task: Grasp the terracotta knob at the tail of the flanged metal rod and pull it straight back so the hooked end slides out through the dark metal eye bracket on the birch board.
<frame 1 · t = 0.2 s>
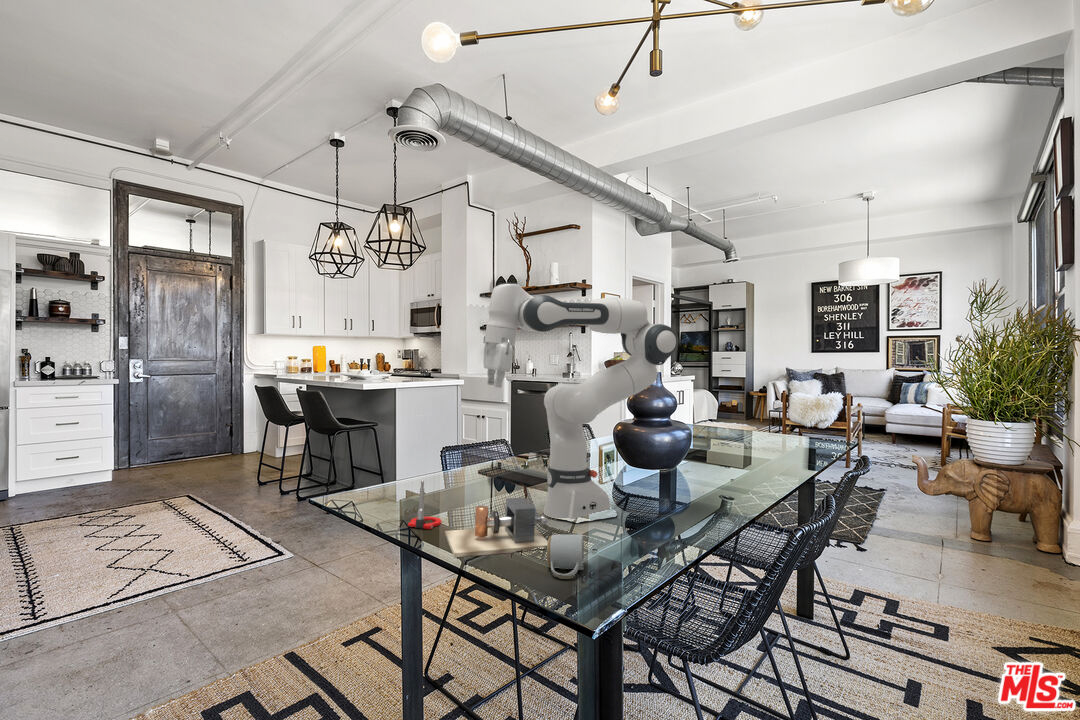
hand: (493, 386, 152), 39 cm above the table, tool pointing down, fingers open, 8 cm apart
eye bracket: (519, 519, 137), on the base board, point 5 cm above the table
flanged metal rod: (511, 519, 136), point 5 cm above the table, slide at 0.0 cm
tow hook: (425, 525, 147), on the table
base board: (519, 539, 137), on the table
ceramic mug: (566, 571, 119), on the table
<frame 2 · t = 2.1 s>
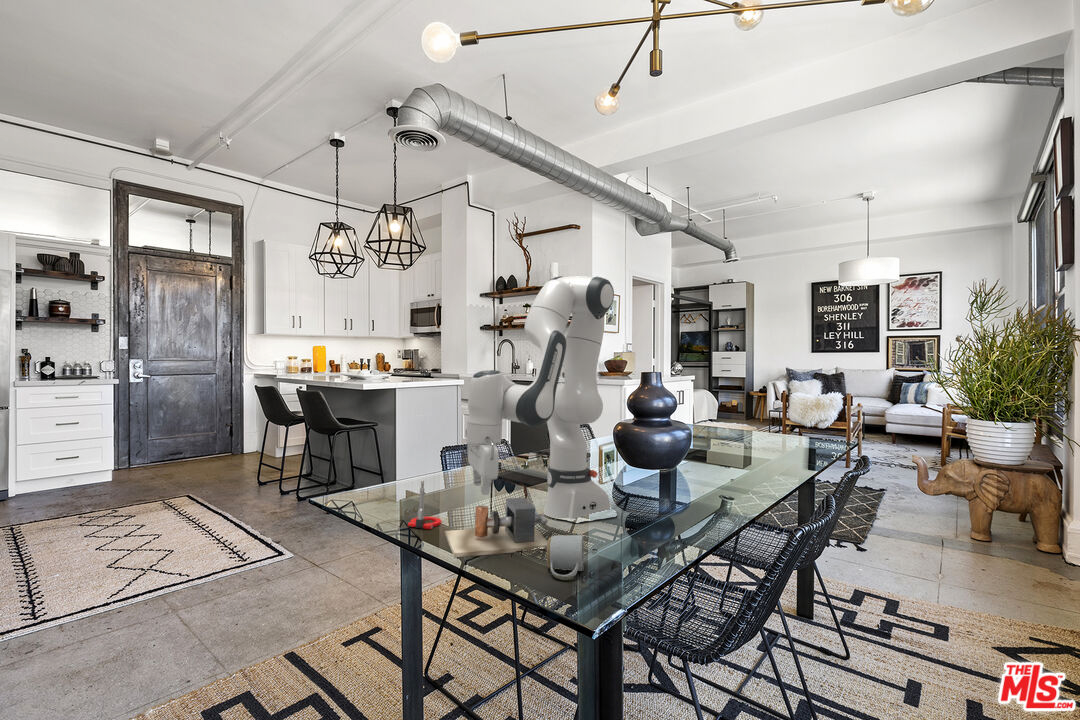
hand: (481, 489, 134), 14 cm above the table, tool pointing down, fingers open, 8 cm apart
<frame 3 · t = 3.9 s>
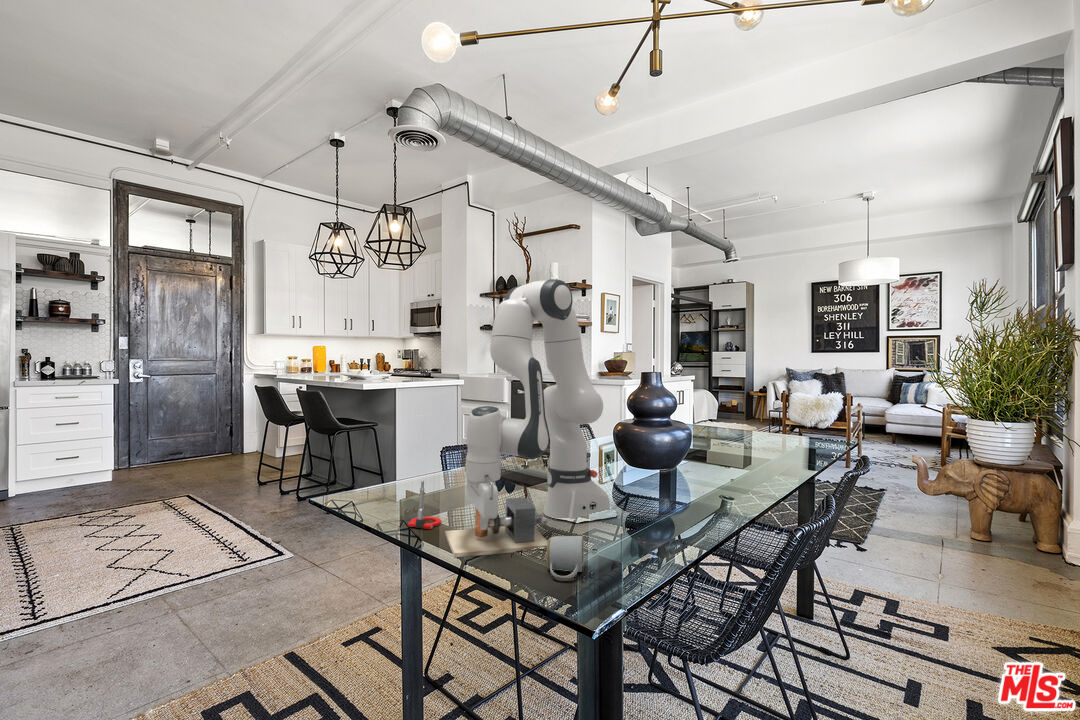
hand: (481, 525, 134), 4 cm above the table, tool pointing down, fingers closed on flanged metal rod, 3 cm apart
flanged metal rod: (511, 519, 136), point 5 cm above the table, slide at 0.0 cm, touching gripper
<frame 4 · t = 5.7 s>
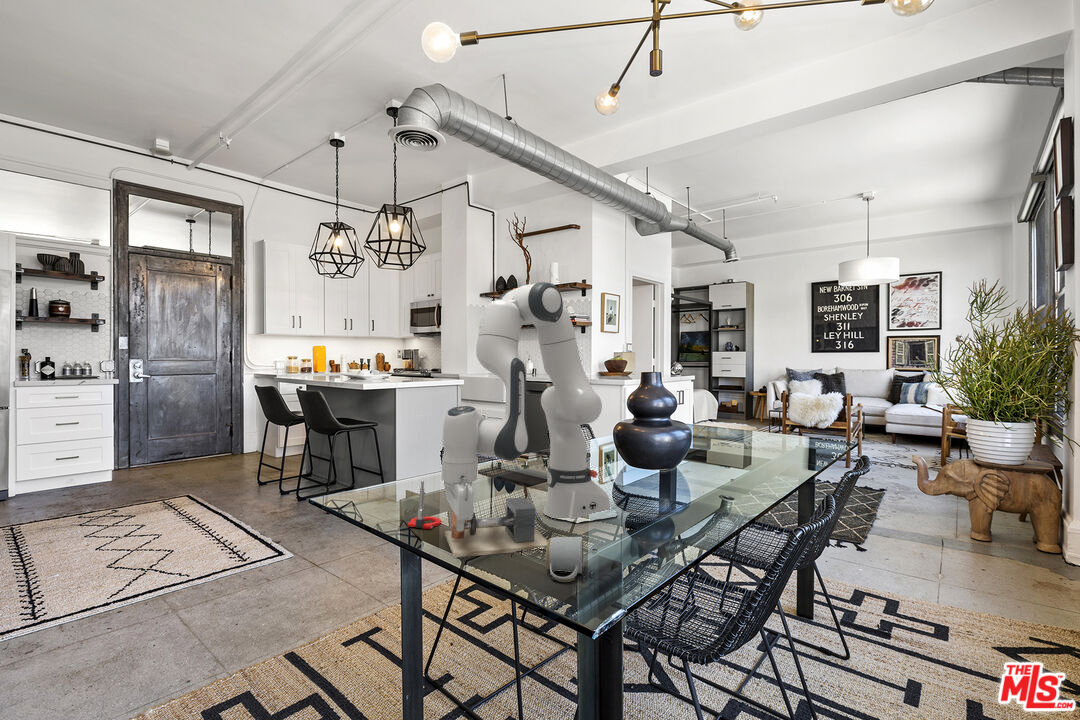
hand: (458, 527, 132), 4 cm above the table, tool pointing down, fingers closed on flanged metal rod, 3 cm apart
flanged metal rod: (488, 520, 135), point 5 cm above the table, slide at 5.9 cm, touching gripper
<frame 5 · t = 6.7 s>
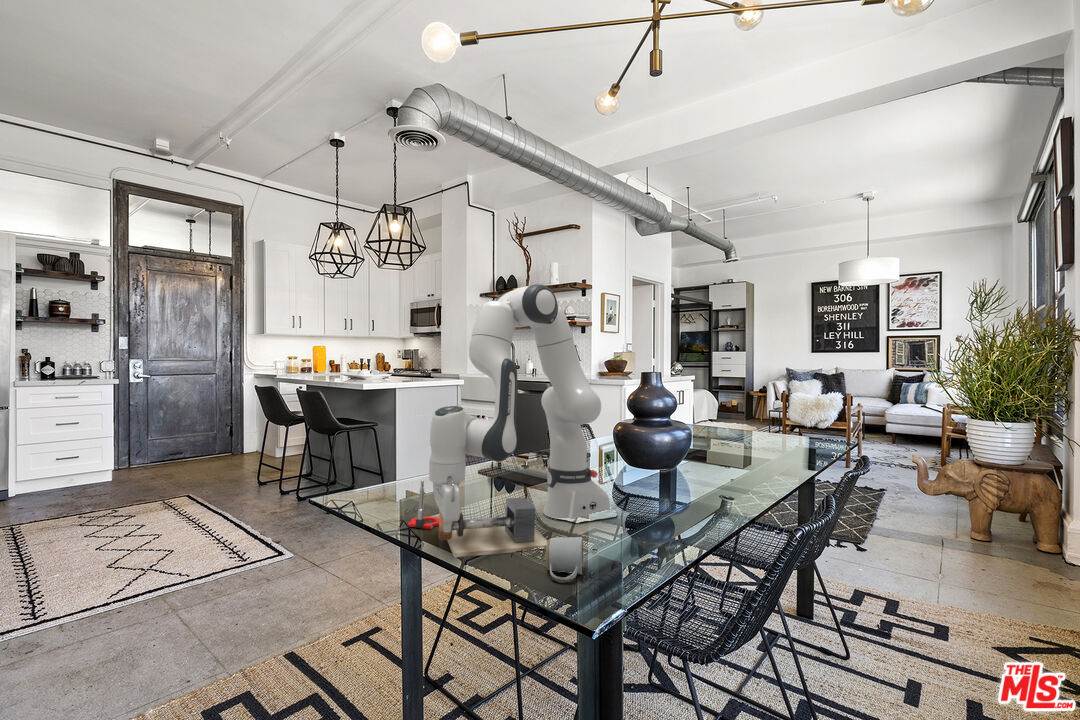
hand: (445, 528, 131), 4 cm above the table, tool pointing down, fingers closed on flanged metal rod, 3 cm apart
flanged metal rod: (476, 521, 134), point 5 cm above the table, slide at 9.0 cm, touching gripper
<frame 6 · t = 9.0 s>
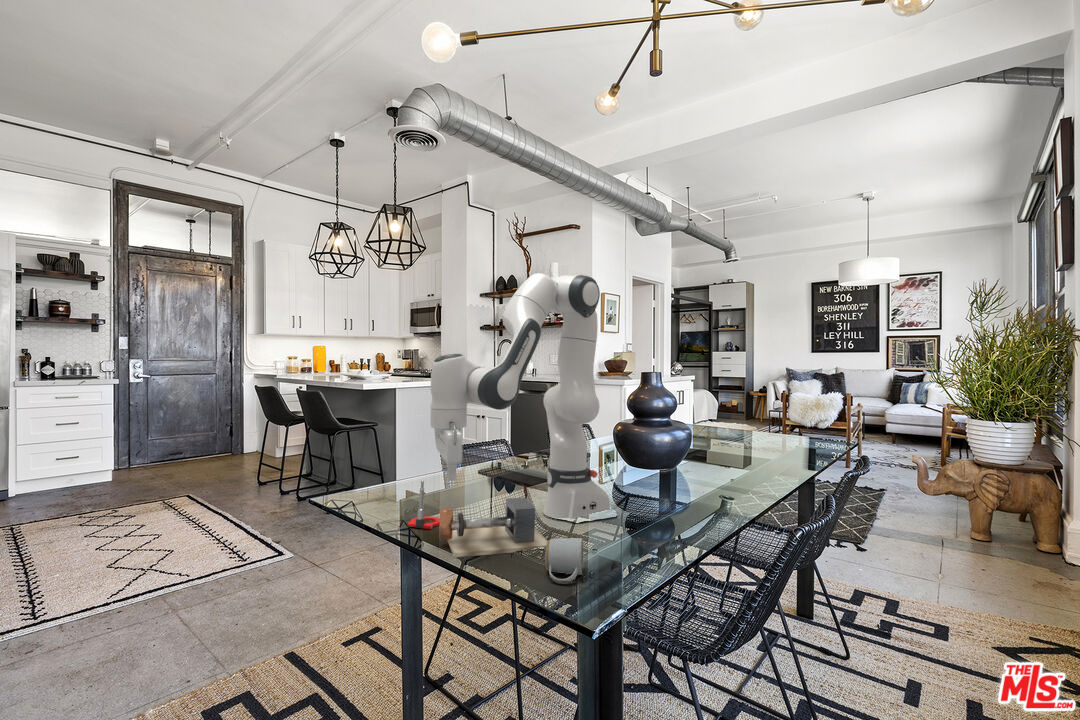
hand: (448, 475, 131), 17 cm above the table, tool pointing down, fingers open, 8 cm apart
flanged metal rod: (476, 521, 134), point 5 cm above the table, slide at 8.9 cm
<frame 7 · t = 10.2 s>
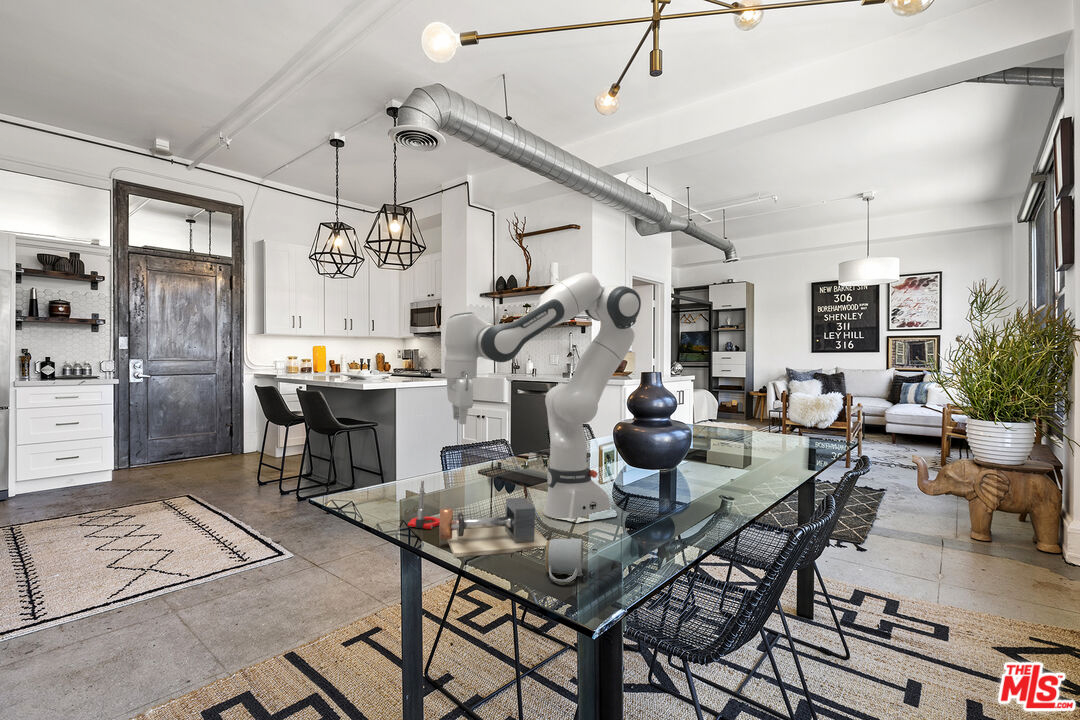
hand: (459, 421, 146), 29 cm above the table, tool pointing down, fingers open, 8 cm apart
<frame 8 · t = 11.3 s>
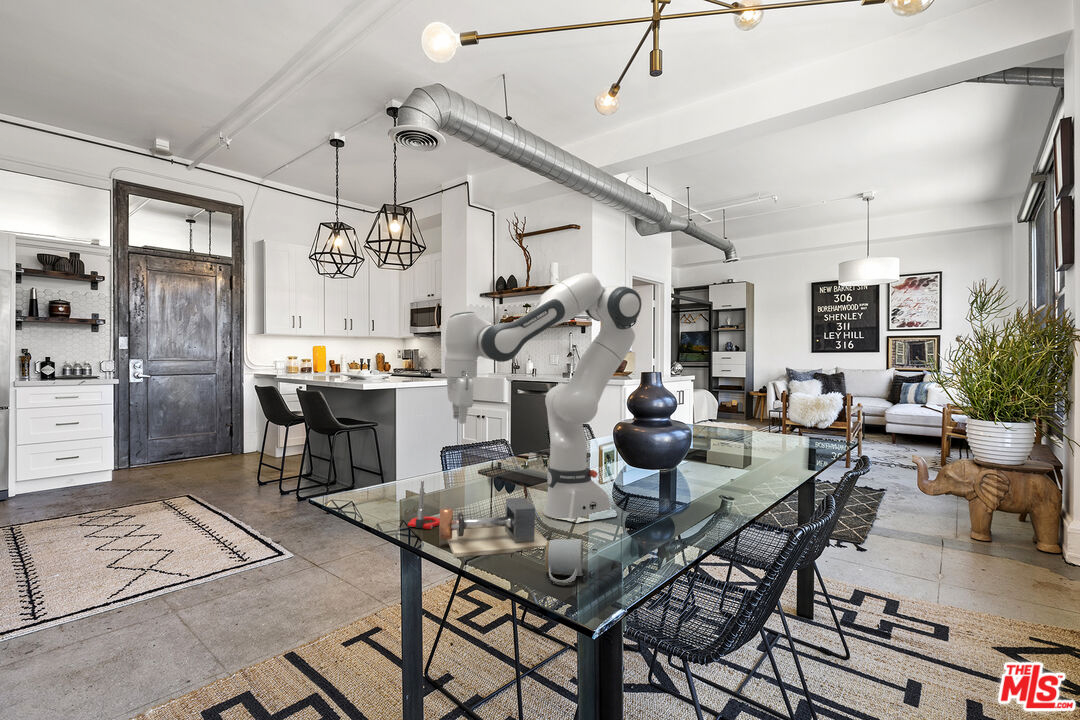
hand: (459, 421, 146), 29 cm above the table, tool pointing down, fingers open, 8 cm apart
at the end: flanged metal rod slide at 8.9 cm; the gripper is holding nothing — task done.
